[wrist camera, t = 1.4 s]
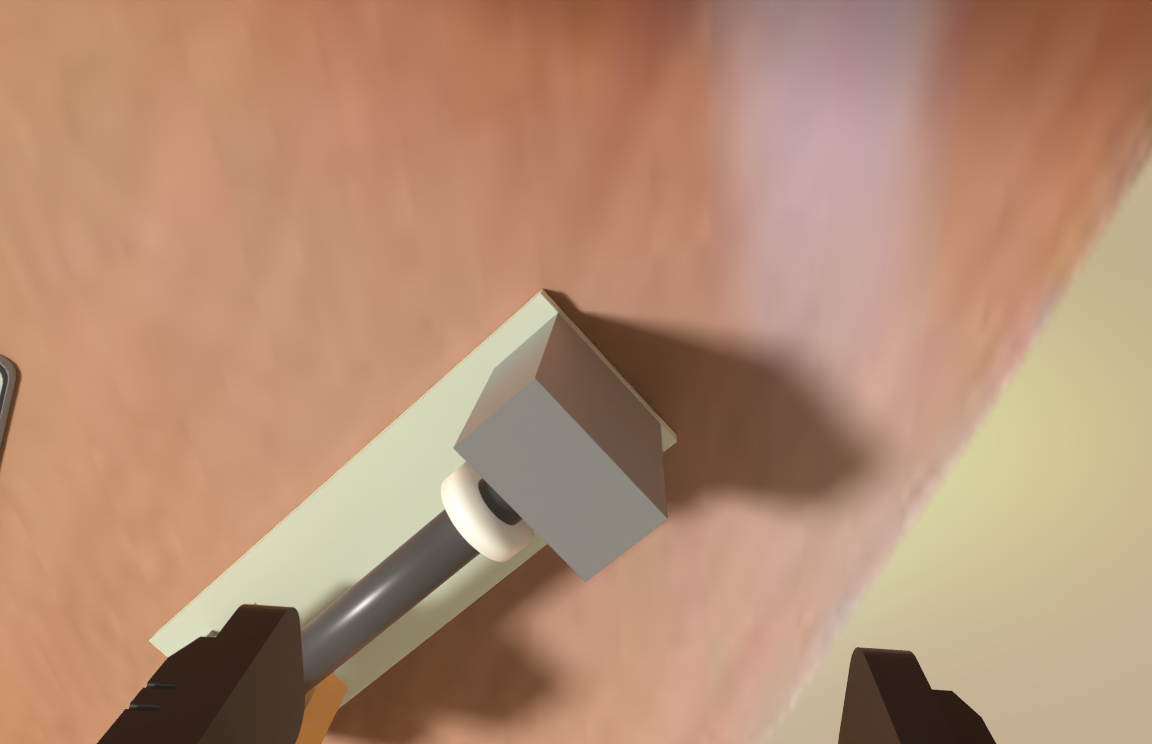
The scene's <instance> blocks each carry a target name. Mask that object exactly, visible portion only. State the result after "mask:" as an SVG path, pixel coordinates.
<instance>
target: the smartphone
mask: <svg viewBox="0 0 1152 744" xmlns="http://www.w3.org/2000/svg"><path fill="white" fill-rule="evenodd" d="M15 382H16V370H15V367H14V366H13V364H12V363H11V361H10V360H8V359H7V358H6V357H4V356H2V355H0V448H1V444H2V439H3V435H4V430H5V426H6V422H7V417H8V413H9V409H10V404H11V400H12V395H13V391H14V387H15Z"/></svg>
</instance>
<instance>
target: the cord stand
mask: <svg viewBox="0 0 1152 744" xmlns="http://www.w3.org/2000/svg"><path fill="white" fill-rule="evenodd" d="M676 442H677V438H676V434H675V433H674V432H673V430H672V429H671V428H670V427H669V426H668V425H667V424H666V423H665V422H664V421H663V420H662V418H661V417H660V416H659V415H658V414H657V413H656V412H655V411H654V410H653V409H652V408H651V406H650V405H649V404H648V403H647V402H646V401H645V400H644V399H643V398H642V397H641V396H640V394H639V393H638V392H637V391H636V390H635V389H634V388H633V387H632V386H631V385H630V384H629V382H628V381H627V380H626V379H625V378H624V377H623V376H622V375H621V374H620V373H619V372H618V371H617V369H616V368H615V367H614V366H613V365H612V364H611V363H610V362H609V361H608V360H607V359H606V357H605V356H604V355H603V354H602V353H601V352H600V351H599V350H598V349H597V348H596V347H595V345H594V344H593V343H592V342H591V341H590V340H589V339H588V338H587V337H586V336H585V335H584V333H583V332H582V331H581V330H580V329H579V328H578V327H577V326H576V325H575V324H574V323H573V321H572V320H571V319H570V318H569V317H568V316H567V315H566V314H565V313H564V312H563V311H562V310H561V308H560V307H559V306H558V305H557V304H556V303H555V302H554V301H553V300H552V299H551V298H550V296H549V295H548V294H547V293H546V292H545V291H544V290H543V289H542V290H541V291H539V292H538V293H537V294H536V295H535V296H534V297H533V298H532V299H530V300H529V301H528V302H527V303H526V304H525V305H524V306H523V307H521V308H520V309H519V310H518V311H517V312H516V313H515V314H514V315H512V316H511V317H510V318H509V319H508V320H507V321H506V322H505V323H503V324H502V325H501V326H500V327H499V328H498V329H497V330H496V331H494V332H493V333H492V334H491V335H490V336H489V337H488V338H487V339H485V340H484V341H483V342H482V343H481V344H480V345H479V346H478V347H476V348H475V349H474V350H473V351H472V352H471V353H470V354H469V355H467V356H466V357H465V358H464V359H463V360H462V361H461V362H460V363H458V364H457V365H456V366H455V367H454V368H453V369H452V370H451V371H449V372H448V373H447V374H446V375H445V376H444V377H443V378H442V379H440V380H439V381H438V382H437V383H436V384H435V385H434V386H433V387H431V388H430V389H429V390H428V391H427V392H426V393H425V394H424V395H422V396H421V397H420V398H419V399H418V400H417V401H416V402H415V403H413V404H412V405H411V406H410V407H409V408H408V409H407V410H406V411H404V412H403V413H402V414H401V415H400V416H399V417H398V418H397V419H395V420H394V421H393V422H392V423H391V424H390V425H389V426H388V427H386V428H385V429H384V430H383V431H382V432H381V433H380V434H379V435H377V436H376V437H375V438H374V439H373V440H372V441H371V442H370V443H368V444H367V445H366V446H365V447H364V448H363V449H362V450H361V451H359V452H358V453H357V454H356V455H355V456H354V457H353V458H352V459H350V460H349V461H348V462H347V463H346V464H345V465H344V466H343V467H341V468H340V469H339V470H338V471H337V472H336V473H335V474H334V475H332V476H331V477H330V478H329V479H328V480H327V481H326V482H325V483H323V484H322V485H321V486H320V487H319V488H318V489H317V490H316V491H314V492H313V493H312V494H311V495H310V496H309V497H308V498H307V499H305V500H304V501H303V502H302V503H301V504H300V505H299V506H298V507H296V508H295V509H294V510H293V511H292V512H291V513H290V514H289V515H287V516H286V517H285V518H284V519H283V520H282V521H281V522H280V523H278V524H277V525H276V526H275V527H274V528H273V529H272V530H271V531H269V532H268V533H267V534H266V535H265V536H264V537H263V538H262V539H260V540H259V541H258V542H257V543H256V544H255V545H254V546H253V547H251V548H250V549H249V550H248V551H247V552H246V553H245V554H244V555H242V556H241V557H240V558H239V559H238V560H237V561H236V562H235V563H233V564H232V565H231V566H230V567H229V568H228V569H227V570H226V571H224V572H223V573H222V574H221V575H220V576H219V577H218V578H217V579H215V580H214V581H213V582H212V583H211V584H210V585H209V586H208V587H206V588H205V589H204V590H203V591H202V592H201V593H200V594H199V595H197V596H196V597H195V598H194V599H193V600H192V601H191V602H190V603H188V604H187V605H186V606H185V607H184V608H183V609H182V610H181V611H179V612H178V613H177V614H176V615H175V616H174V617H173V618H172V619H170V620H169V621H168V622H167V623H166V624H165V625H164V626H163V627H161V628H160V629H159V630H158V631H157V632H156V633H155V635H154V636H153V637H152V638H151V639H150V640H149V642H150V643H152V644H153V645H154V646H155V647H156V648H157V649H158V650H160V651H161V652H162V653H163V654H164V655H165V656H166V657H170V656H171V655H173V654H174V653H176V652H177V651H179V650H180V649H182V648H183V647H185V646H187V645H188V644H190V643H191V642H193V641H194V640H196V639H197V638H199V637H200V636H202V637H215V636H216V635H218V633H219V632H220V631H221V629H222V628H223V627H224V625H225V624H226V623H227V622H228V620H229V619H230V618H231V616H232V615H233V614H234V613H235V611H236V610H237V609H238V608H239V607H240V606H241V605H243V604H253V603H256V604H258V605H268V606H283V607H294V608H296V609H297V611H298V614H299V618H300V627H301V642H302V657H303V672H304V687H305V694H307V693H308V692H309V691H310V690H312V689H313V688H314V687H315V686H317V685H318V684H319V683H320V682H321V681H323V680H324V679H325V678H326V677H328V676H329V675H330V674H331V673H333V674H334V675H335V676H336V677H337V678H339V679H340V680H341V681H342V682H343V683H344V684H345V685H346V686H347V687H348V690H347V692H346V694H345V696H344V698H343V700H342V702H341V704H340V706H339V708H340V707H342V706H343V705H344V704H346V703H347V702H348V701H349V700H351V699H352V698H353V697H354V696H356V695H357V694H358V693H359V692H361V691H362V690H363V689H365V688H366V687H367V686H368V685H370V684H371V683H372V682H373V681H375V680H376V679H377V678H378V677H380V676H381V675H382V674H383V673H385V672H386V671H387V670H389V669H390V668H391V667H392V666H394V665H395V664H396V663H397V662H399V661H400V660H401V659H402V658H404V657H405V656H406V655H408V654H409V653H410V652H411V651H413V650H414V649H415V648H416V647H418V646H419V645H420V644H421V643H423V642H424V641H425V640H427V639H428V638H429V637H430V636H432V635H433V634H434V633H435V632H437V631H438V630H439V629H440V628H442V627H443V626H444V625H446V624H447V623H448V622H449V621H451V620H452V619H453V618H454V617H456V616H457V615H458V614H459V613H461V612H462V611H463V610H465V609H466V608H467V607H468V606H470V605H471V604H472V603H473V602H475V601H476V600H477V599H478V598H480V597H481V596H482V595H484V594H485V593H486V592H487V591H489V590H490V589H491V588H492V587H494V586H495V585H496V584H497V583H499V582H500V581H501V580H503V579H504V578H505V577H506V576H508V575H509V574H510V573H511V572H513V571H514V570H515V569H516V568H518V567H519V566H520V565H522V564H523V563H524V562H525V561H527V560H528V559H529V558H530V557H532V556H533V555H534V554H535V553H537V552H538V551H539V550H541V549H542V548H543V547H544V546H546V545H547V544H548V545H549V546H550V547H551V548H552V549H553V550H554V551H555V552H556V553H557V554H558V555H559V556H560V557H561V558H562V559H563V560H564V561H565V562H566V563H567V564H568V565H569V566H570V567H571V568H572V569H573V570H574V571H575V572H576V573H577V574H578V575H579V576H580V577H581V578H582V579H583V580H584V581H585V582H586V581H587V580H589V579H590V578H591V577H593V576H594V575H595V574H597V573H598V572H599V571H601V570H602V569H603V568H604V567H606V566H607V565H608V564H610V563H611V562H612V561H614V560H615V559H616V558H618V557H619V556H620V555H621V554H623V553H624V552H625V551H627V550H628V549H629V548H631V547H632V546H633V545H635V544H636V543H637V542H639V541H640V540H641V539H642V538H644V537H645V536H646V535H648V534H649V533H650V532H652V531H653V530H654V529H656V528H657V527H658V526H659V525H661V524H662V523H663V522H665V521H666V520H667V519H668V515H667V502H666V489H665V476H664V463H663V452H665V451H666V450H667V449H668V448H670V447H671V446H672V445H673V444H675V443H676ZM339 708H338V709H339Z"/></svg>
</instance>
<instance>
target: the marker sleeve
mask: <svg viewBox="0 0 1152 744" xmlns="http://www.w3.org/2000/svg"><path fill="white" fill-rule="evenodd" d="M253 604H254V605H258V604H256V603H253ZM216 636H217V635H216ZM216 636H215V637H216ZM347 690H348V687H347V686H346V685H345V684H344V683H343V682H342V681H341V680H340V679H339V678H337V677H336V676H335V675H334V674H333V673H331V674H330V675H329V676H328V677H326V678H325V679H324V680H323V681H321V682H320V683H319V684H318V685H317V686H315V687H314V688H313V689H312V690H310V691H309V692H308V693H307V694H305V708H304V716H303V721H302V725H301V729H300V733H299V736H298V738H297V741H296V743H295V744H321V743H322V741H323V739H324V737H325V735H326V733H327V731H328V729H329V727H330V725H331V723H332V720H333V718H334V716H335V714H336V712H337V710H338V708H339V706H340V704H341V702H342V700H343V698H344V696H345V694H346V692H347Z"/></svg>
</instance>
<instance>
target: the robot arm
mask: <svg viewBox="0 0 1152 744" xmlns="http://www.w3.org/2000/svg"><path fill="white" fill-rule="evenodd" d="M304 708H305V687H304V672H303V657H302V642H301V627H300V618H299V614H298V611H297V609H296V608H294V607H283V606H268V605H254V604H243V605H241V606H240V607H239V608H238V609H237V610H236V611H235V613H234V614H233V615H232V616H231V618H230V619H229V620H228V622H227V623H226V624H225V625H224V627H223V628H222V629H221V631H220V632H219V633H218V635H217V636H216V637H202V636H200V637H199V638H197V639H196V640H194V641H193V642H191V643H190V644H188V645H187V646H185V647H183V648H182V649H180V650H179V651H177V652H176V653H174V654H173V655H171V656H170V657H168V658H167V660H166V661H165V662H164V663H163V664H162V666H161V667H160V668H159V669H158V670H157V672H156V673H155V674H154V675H153V676H152V678H151V679H150V680H149V681H148V683H147V687H146V688H143V689H142V690H141V691H140V692H139V693H138V695H137V696H136V697H135V698H134V699H133V701H132V702H131V703H130V707H129V709H125V710H124V712H123V713H122V714H121V715H120V716H119V718H118V719H117V720H116V721H115V722H114V724H113V725H112V726H111V727H110V728H109V730H108V731H107V732H106V733H105V735H104V736H103V737H102V738H101V739H100V741H99V742H98V743H97V744H295V743H296V741H297V738H298V736H299V733H300V729H301V725H302V721H303V716H304ZM838 744H996V743H995V741H994V739H993V737H992V735H991V734H990V732H989V730H988V728H987V727H986V725H985V723H984V721H983V719H982V718H981V717H980V716H979V715H978V714H977V713H976V712H975V711H974V710H973V709H971V708H970V707H969V706H968V705H967V704H966V703H965V702H964V701H963V700H961V699H960V698H959V697H958V696H957V695H956V694H955V693H954V692H952V691H945V690H932V689H931V687H930V685H929V683H928V681H927V679H926V677H925V675H924V673H923V671H922V669H921V667H920V665H919V663H918V661H917V659H916V657H915V656H914V654H913V653H912V652H910V651H903V650H887V649H874V648H873V649H872V648H859V647H857V648H855V650H854V652H853V654H852V657H851V662H850V668H849V675H848V682H847V687H846V694H845V700H844V707H843V714H842V721H841V726H840V733H839V742H838Z"/></svg>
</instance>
